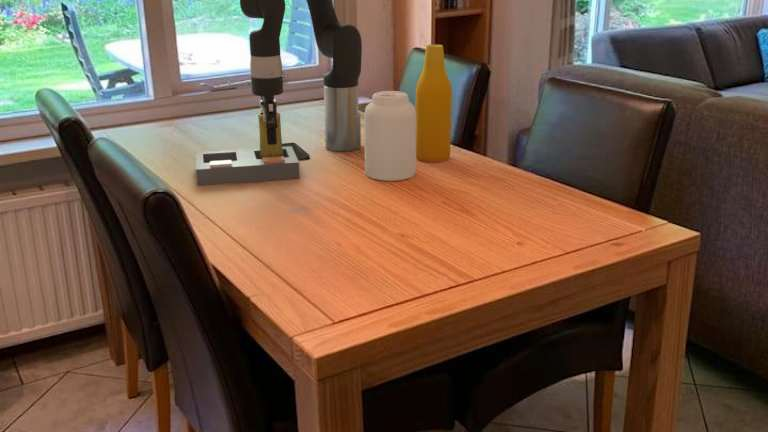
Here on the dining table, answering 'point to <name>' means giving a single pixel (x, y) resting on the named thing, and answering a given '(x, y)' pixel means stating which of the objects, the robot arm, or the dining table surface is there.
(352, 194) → the dining table surface
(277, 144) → the vase
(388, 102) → the white jar
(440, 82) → the beer bottle
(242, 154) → the socket block
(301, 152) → the phone
